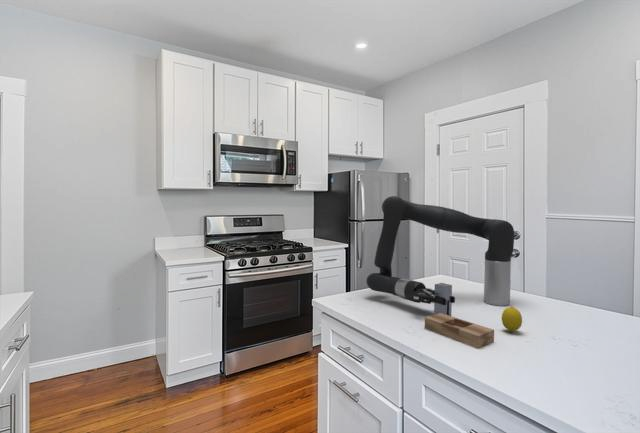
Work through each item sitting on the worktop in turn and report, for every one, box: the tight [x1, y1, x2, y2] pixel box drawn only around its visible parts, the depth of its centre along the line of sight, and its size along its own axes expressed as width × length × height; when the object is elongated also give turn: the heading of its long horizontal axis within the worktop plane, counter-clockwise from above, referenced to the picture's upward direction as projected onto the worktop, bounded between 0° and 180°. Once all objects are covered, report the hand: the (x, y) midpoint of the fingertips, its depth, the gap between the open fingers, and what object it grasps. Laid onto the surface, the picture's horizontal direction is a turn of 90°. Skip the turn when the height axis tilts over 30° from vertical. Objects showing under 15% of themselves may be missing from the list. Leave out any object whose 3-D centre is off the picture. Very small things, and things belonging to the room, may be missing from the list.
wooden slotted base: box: [424, 313, 495, 349], centre depth 103 cm, size 8×18×4 cm, turn 35°
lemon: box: [501, 306, 523, 333], centre depth 106 cm, size 6×6×8 cm
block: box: [433, 282, 453, 316], centre depth 117 cm, size 4×4×12 cm
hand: (450, 301), depth 114 cm, fingers closed on block, 4 cm apart
